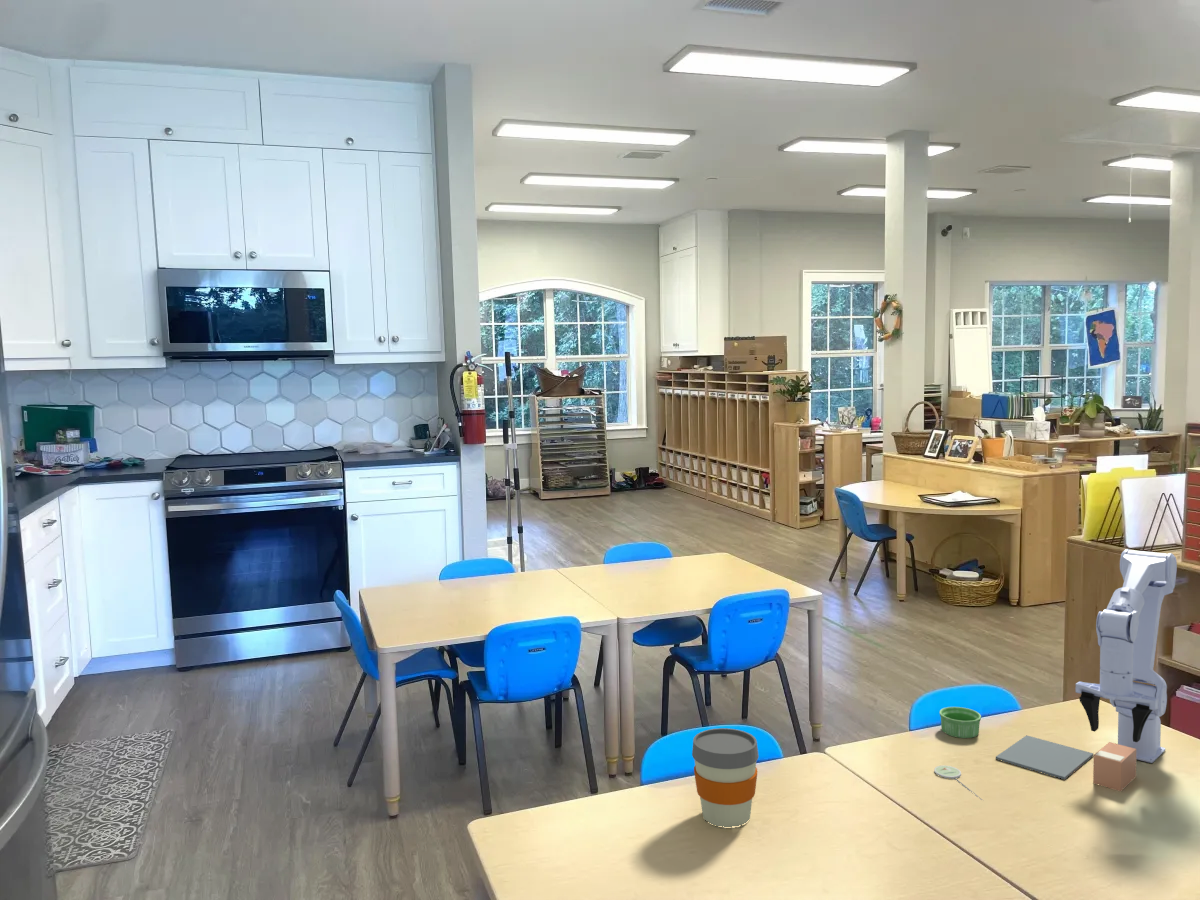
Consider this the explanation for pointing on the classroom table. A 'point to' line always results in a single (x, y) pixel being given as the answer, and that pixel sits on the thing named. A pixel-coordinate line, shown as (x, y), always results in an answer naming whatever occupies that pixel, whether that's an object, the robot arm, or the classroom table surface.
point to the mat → (1045, 756)
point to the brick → (1114, 766)
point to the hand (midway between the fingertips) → (1115, 735)
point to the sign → (949, 773)
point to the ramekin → (960, 722)
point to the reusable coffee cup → (725, 774)
